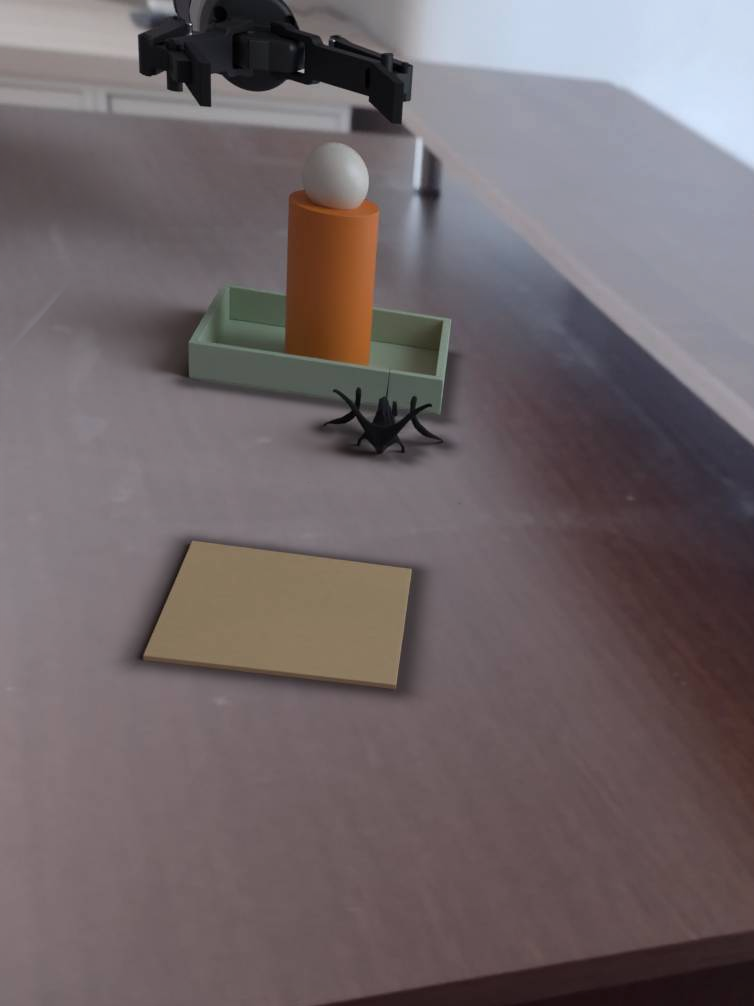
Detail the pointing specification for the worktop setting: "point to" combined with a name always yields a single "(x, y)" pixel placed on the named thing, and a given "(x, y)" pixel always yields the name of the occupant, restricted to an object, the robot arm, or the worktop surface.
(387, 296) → the worktop surface
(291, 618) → the mat
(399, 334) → the tray
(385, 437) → the creature
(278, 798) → the worktop surface
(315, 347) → the skittle
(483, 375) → the worktop surface
